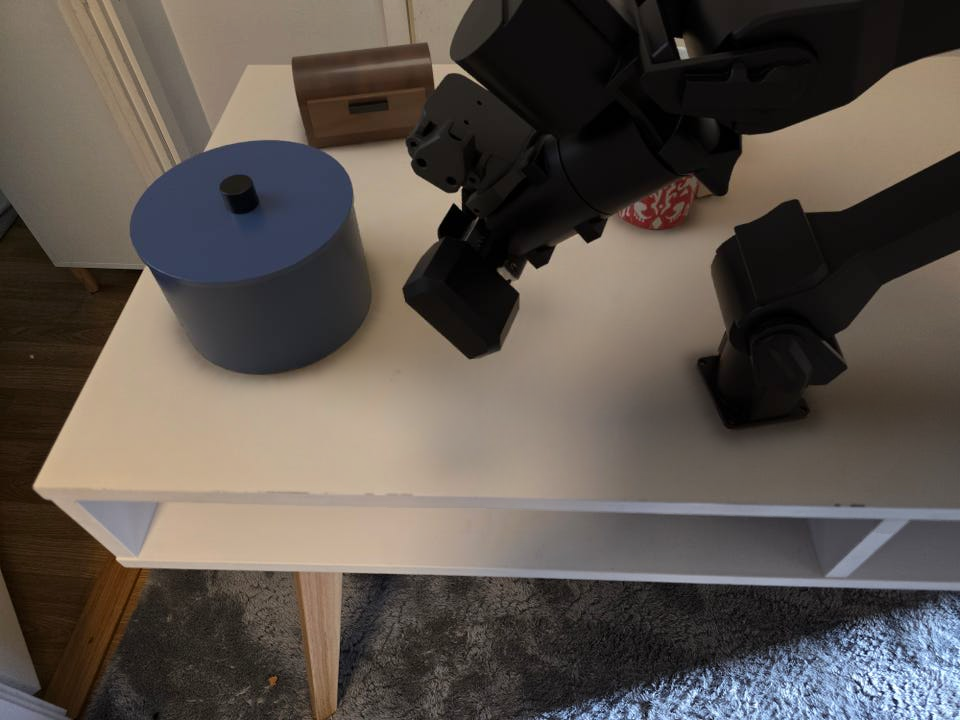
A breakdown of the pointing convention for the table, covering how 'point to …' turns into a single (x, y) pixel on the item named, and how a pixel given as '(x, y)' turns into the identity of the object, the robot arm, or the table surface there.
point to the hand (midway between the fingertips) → (427, 267)
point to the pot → (257, 253)
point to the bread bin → (362, 93)
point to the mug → (664, 199)
